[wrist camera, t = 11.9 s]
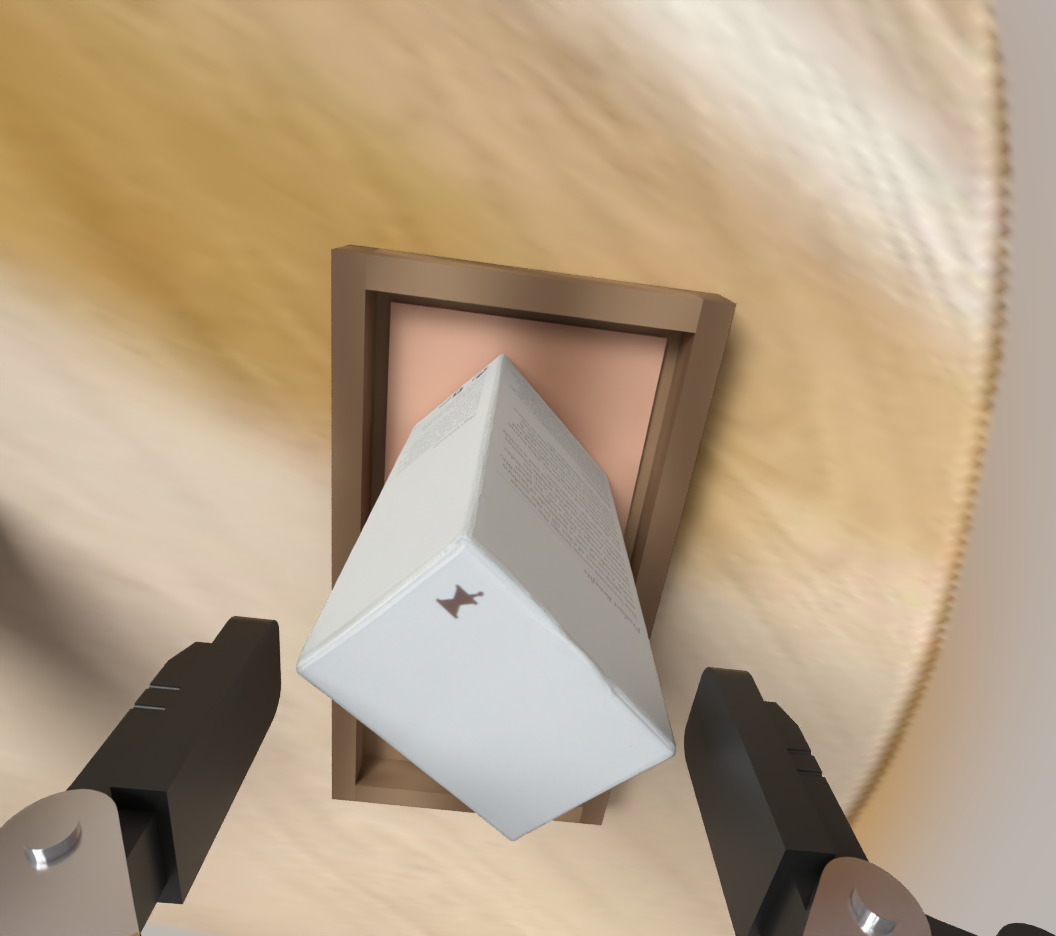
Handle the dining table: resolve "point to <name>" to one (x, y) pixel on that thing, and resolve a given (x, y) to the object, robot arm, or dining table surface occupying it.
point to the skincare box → (496, 614)
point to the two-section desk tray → (562, 382)
